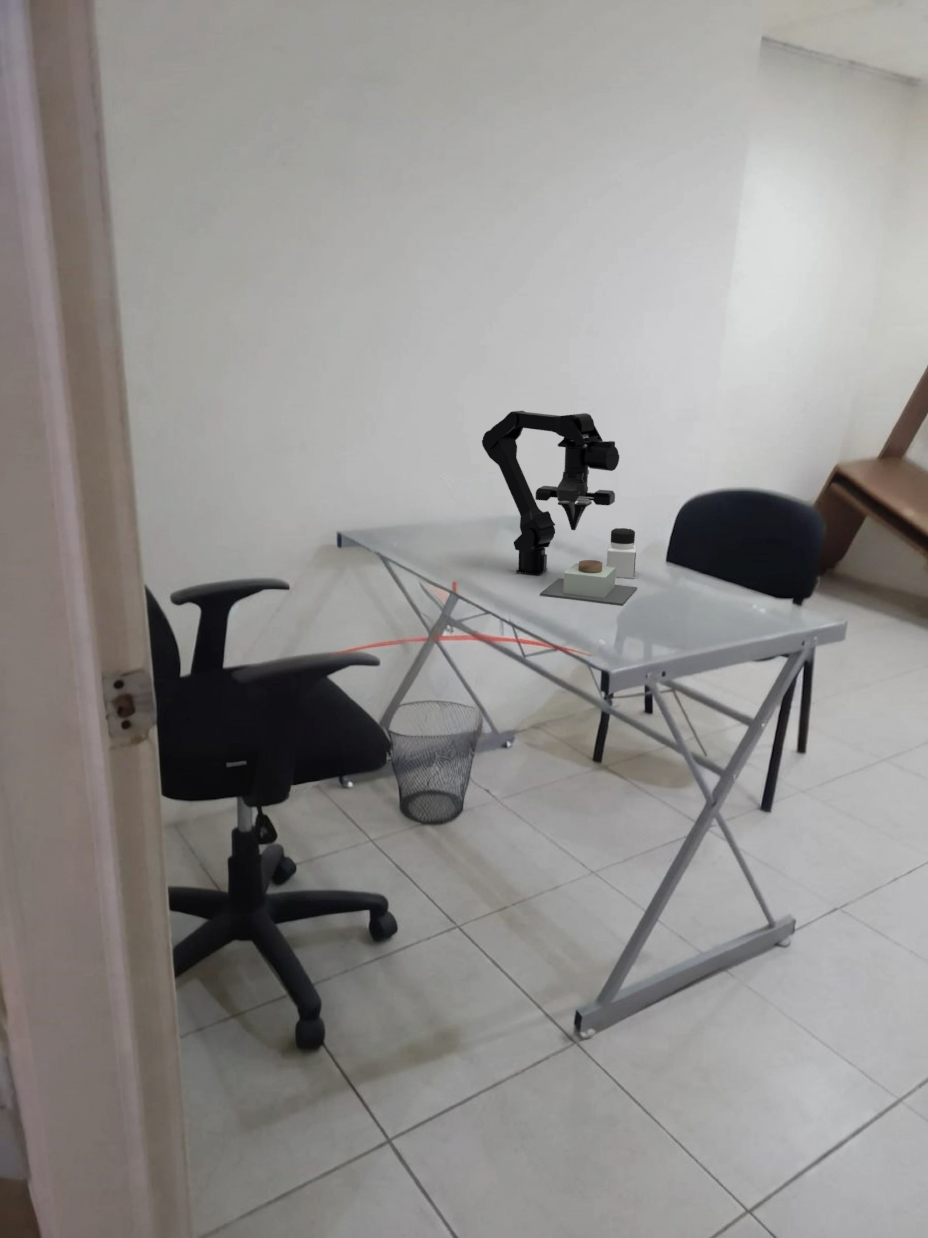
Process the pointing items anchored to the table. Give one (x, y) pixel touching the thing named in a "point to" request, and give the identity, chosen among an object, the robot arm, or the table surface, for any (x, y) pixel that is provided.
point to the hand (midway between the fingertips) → (573, 529)
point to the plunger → (590, 566)
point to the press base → (590, 587)
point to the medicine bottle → (622, 552)
